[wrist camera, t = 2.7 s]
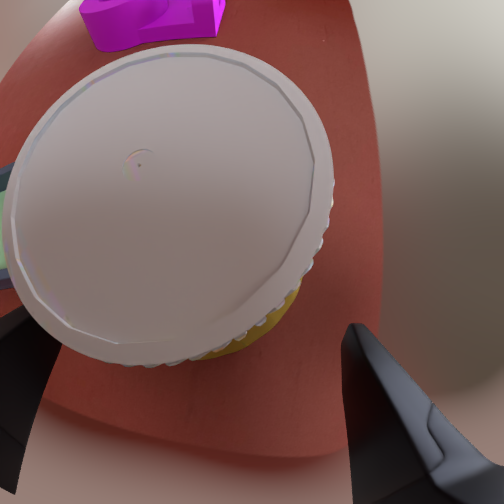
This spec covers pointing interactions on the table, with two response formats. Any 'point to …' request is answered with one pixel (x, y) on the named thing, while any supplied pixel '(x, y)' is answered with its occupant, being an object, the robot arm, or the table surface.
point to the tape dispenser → (149, 21)
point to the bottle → (168, 206)
